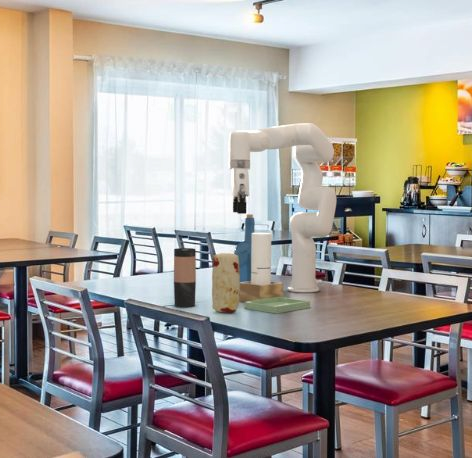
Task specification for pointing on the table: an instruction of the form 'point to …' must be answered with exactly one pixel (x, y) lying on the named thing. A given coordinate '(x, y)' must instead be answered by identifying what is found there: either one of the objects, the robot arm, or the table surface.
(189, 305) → the travel mug
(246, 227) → the wine bottle
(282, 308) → the tray
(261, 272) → the cylindrical container
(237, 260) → the food model
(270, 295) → the crate
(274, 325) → the table surface
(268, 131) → the robot arm
